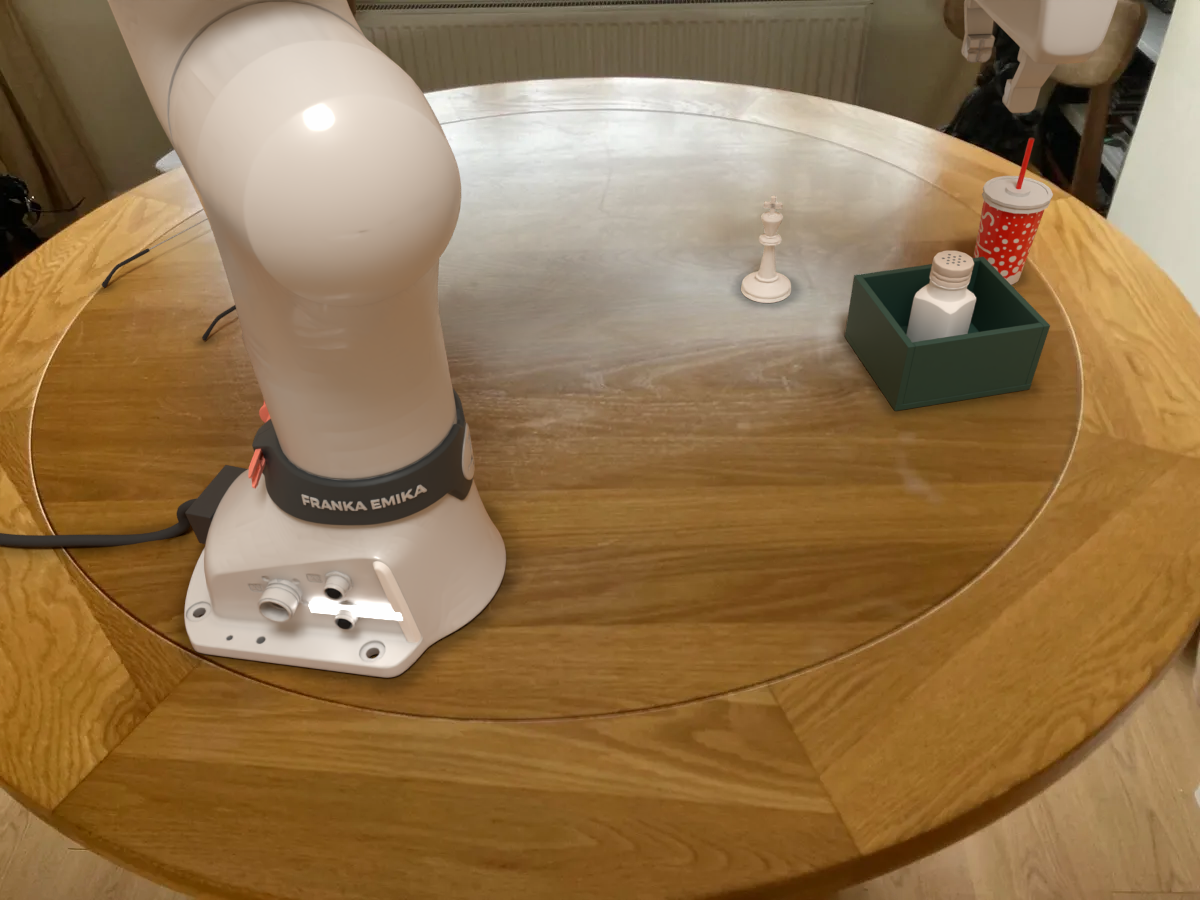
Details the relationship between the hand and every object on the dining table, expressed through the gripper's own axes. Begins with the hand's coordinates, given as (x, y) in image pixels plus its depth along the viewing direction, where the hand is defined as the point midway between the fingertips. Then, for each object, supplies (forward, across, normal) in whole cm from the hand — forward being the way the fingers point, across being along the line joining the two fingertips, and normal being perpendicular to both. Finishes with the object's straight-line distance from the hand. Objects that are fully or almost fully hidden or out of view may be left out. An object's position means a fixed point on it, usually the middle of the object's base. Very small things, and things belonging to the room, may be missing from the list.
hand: (994, 83), depth 69 cm
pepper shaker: (+24, 0, 0) cm, 24 cm away
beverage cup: (+25, -14, +10) cm, 30 cm away
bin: (+25, 0, 0) cm, 25 cm away
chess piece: (+25, -13, -12) cm, 31 cm away
